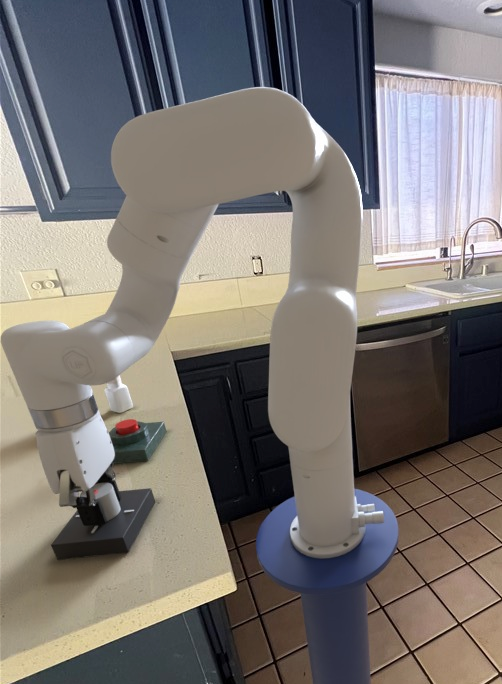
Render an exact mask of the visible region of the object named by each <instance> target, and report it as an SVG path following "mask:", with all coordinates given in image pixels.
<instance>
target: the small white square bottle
mask: <svg viewBox="0 0 502 684" xmlns="http://www.w3.org/2000/svg"><path fill="white" fill-rule="evenodd" d="M105 384H106V385H107V387H105V388H104V394H105V397H106V399H107V402H108V405H109V408H110V410H111V411H112V412H115V413H119V414H122V413H124V412H127V411H128V410H130V409H133V408H134V404H133V401H132V397H131V394H130V391H129V387H128V386H127V385H126V384H124V383H123V382H122V378H121V374H120V375H119V376H118V377H116V378H115V379H113V380H112V381H110V382H108V383H105Z"/></svg>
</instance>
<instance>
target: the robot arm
mask: <svg viewBox="0 0 502 684" xmlns="http://www.w3.org/2000/svg"><path fill="white" fill-rule="evenodd" d="M110 164H111V169H112V173H113V175H114V178H115V180H116V183H117V184H118V186H119V188H120V189H121V190H122V192H123V193H124V194H125V198H124V200H123V202H122V204H121V207H120V209H119V212H118V214H117V216H116V217H115V220H114V222H113V224H112V227H111V229H110V231H109V232H108V236H107V238H106V245H107V250H108V251H109V253H110V254H111V256H112V257H113V258H114V259H115V260H116V262H118V263H119V264H120V265H121V268H122V272H121V273H122V274H121V279H120V281H119V285H118V287H117V290H116V293H115V294H114V296H113V298H112V301H111V303H110V304H109V306H108V309H107V310H106V311H105V313H104V314H101V315H98V316H97V317H95V318H93V319H90V320H88V321H86V322H84V323H82V324H80V325H76V326H74V327H71V328H70V327H69V326H68V325H67V324H66V323H64V322H62V321H58V320H37V321H29V322H24V323H19V324H16V325H12V326H11V327H9V328H6V329H5V330H3V332H2V333H1V335H0V344H1V348H2V350H3V353H4V355H5V356H6V359H7V362H8V364H9V367H10V369H11V371H12V373H13V376H14V378H15V381H16V383H17V386H18V388H19V390H20V393H21V396H22V397H23V400H24V402H25V404H26V407H27V409H28V412H29V415H30V417H31V420H32V421H33V422H32V423H33V424H34V426H35V429H36V430H37V431H36V432H35V439H36V440H35V441H36V446H37V451H38V456H39V459H40V462H41V465H42V468H43V473H44V476H45V477H46V480H47V482H48V485H49V488H50V490H51V492H52V494H55V495H58V506H59V507H60V508H64V507H65V508H66V507H70V508H71V507H72V508H73V509H76V511H78V513H79V516H80V518H81V521H82V523H83V525H84V526H91V525H101V524H105V523H106V521H107V519H106V516H105V514H104V511H103V508H102V506H101V503H100V501H96V497H95V492H94V487H93V485H95V484H98V483H110V484H112V486H113V488H114V491H115V494H116V497H117V499H118V502H119V501H120V500H121V495H120V492H119V491H120V489H119V486H118V484H117V481H116V472H115V471H114V464H115V463H113V459H114V457H115V452H114V448H113V445H112V441H111V439H110V436H109V431H108V429H107V426H106V424H105V422H104V419H103V417H102V416H101V414H100V410H99V406H98V404H97V401H96V398H95V395H94V392H93V389H92V386H101V385H105V384H106V383H108V382H110V381H112V380H113V379H115V378H116V377H118V376H119V375H120V376H121V375H122V374H123V373H124V372H126V371H127V370H128V369H129V368H130V367H132V366H133V365H135V364H136V363H137V362H138V361H141V359H142V358H144V357H145V356H146V355H148V354H149V352H150V351H151V350H152V349H153V348H154V346H155V344H156V342H157V340H158V339H159V337H160V335H161V333H162V331H163V330H164V327H165V326H166V324H167V322H168V320H169V318H170V317H171V314H172V311H173V309H174V307H175V305H176V300H177V297H178V293H179V290H180V286H181V279H182V276H183V274H184V273H185V271H186V268H187V266H188V265H189V263H190V260H191V259H192V257H193V255H194V253H195V251H196V250H197V247H198V246H199V243H200V241H201V239H202V237H203V235H204V234H205V231H206V230H207V228H208V226H209V224H210V222H211V221H212V218H213V217H214V214H215V213H216V210H217V209H218V207H219V205H220V204H221V205H222V204H225V203H229V202H235V201H238V200H243V199H247V198H251V197H256V196H260V195H265V194H271V193H277V192H286V193H287V195H288V196H289V199H290V201H291V208H292V221H291V230H290V263H289V275H288V283H287V289H286V291H285V293H284V295H283V296H282V298H281V299H280V301H279V302H278V304H277V306H276V308H275V310H274V313H273V317H272V321H271V326H270V334H269V336H270V337H269V359H268V360H269V361H268V363H269V365H268V392H267V395H268V396H267V413H268V415H267V416H268V421H269V424H270V427H271V429H272V431H273V433H274V434H275V436H276V437H277V438H278V439H279V441H281V442H282V443H283V444H285V446H287V448H288V454H289V455H288V456H289V463H290V471H291V478H292V486H293V492H294V493H293V495H294V496H295V502H296V509H297V516H296V518H295V519H294V520H293V522H292V524H291V527H290V538H291V542H292V544H293V546H294V547H295V548H296V549H297V550H298V551H299V552H300V553H302V554H304V555H306V556H309V557H313V558H321V559H322V558H333V557H337V556H340V555H343V554H345V553H347V552H349V551H351V550H352V549H354V548H355V547H356V546H357V545H358V544H359V543H360V542H361V540H362V539H363V537H364V534H365V528H366V527H365V524H372V523H373V524H378V523H384V515H383V511H378V512H375V507H374V504H368V505H362V506H360V504H357V501H356V496H355V494H354V489H355V476H354V459H353V438H352V437H353V435H352V417H351V415H352V414H351V388H352V380H353V371H354V363H355V356H356V347H357V337H358V307H357V306H358V305H357V290H358V278H359V268H360V261H361V259H360V256H361V246H362V245H361V244H362V232H363V201H362V192H361V188H360V183H359V181H358V177H357V174H356V172H355V170H354V167H353V165H352V163H351V161H350V159H349V158H348V156H347V154H346V152H345V151H344V150H343V148H342V147H341V146H340V145H339V143H338V142H337V141H336V140H335V139H334V138H333V137H332V136H331V135H330V134H329V133H328V132H327V131H326V130H325V129H323V127H322V126H321V125H319V123H317V122H316V120H315V119H314V118H313V117H312V115H311V113H310V112H309V111H308V109H307V108H306V107H305V105H304V104H302V102H300V100H298V98H296V97H295V96H294V95H292V94H290V93H288V92H286V91H284V90H281V89H278V88H276V87H267V86H255V87H254V86H253V87H247V88H243V89H239V90H235V91H229V92H227V93H221V94H219V95H215V96H211V97H207V98H204V99H199V100H195V101H191V102H187V103H182V104H178V105H174V106H170V107H169V106H168V107H165V108H161V109H157V110H153V111H149V112H146V113H142V114H140V115H137V116H136V117H134V118H132V119H130V120H127V122H126V123H124V125H122V127H120V129H119V130H118V132H117V134H116V135H115V137H114V140H113V142H112V145H111V150H110ZM82 491H84V492H85V491H86V496H87V497H80V493H81V492H82ZM366 512H367V513H366ZM369 512H372V513H369ZM364 513H365V514H364Z"/></svg>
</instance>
